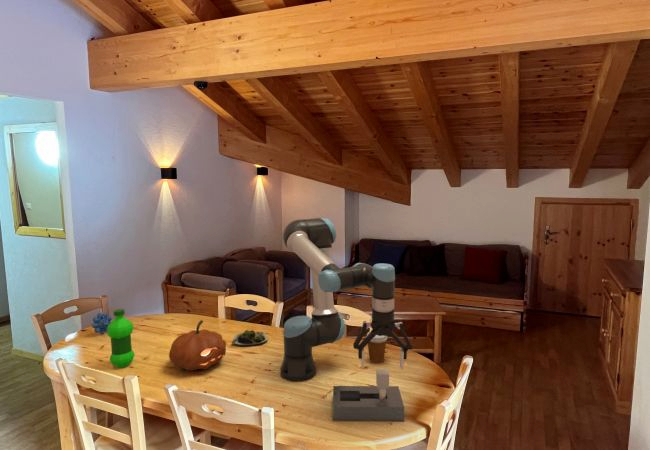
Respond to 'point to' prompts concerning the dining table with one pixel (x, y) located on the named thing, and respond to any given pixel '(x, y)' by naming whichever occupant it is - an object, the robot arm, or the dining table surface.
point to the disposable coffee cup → (377, 348)
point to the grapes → (101, 323)
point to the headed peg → (382, 382)
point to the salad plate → (250, 339)
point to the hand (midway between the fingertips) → (382, 367)
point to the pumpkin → (197, 349)
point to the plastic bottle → (120, 340)
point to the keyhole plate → (367, 404)
